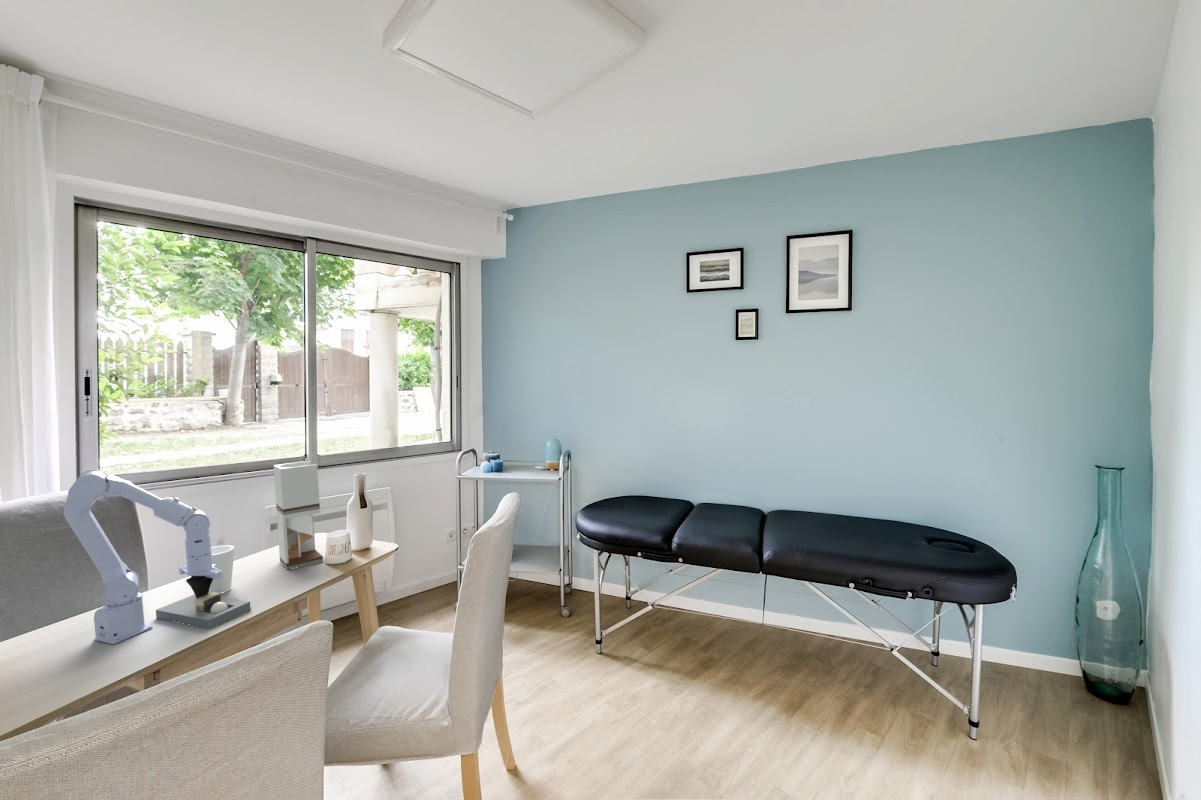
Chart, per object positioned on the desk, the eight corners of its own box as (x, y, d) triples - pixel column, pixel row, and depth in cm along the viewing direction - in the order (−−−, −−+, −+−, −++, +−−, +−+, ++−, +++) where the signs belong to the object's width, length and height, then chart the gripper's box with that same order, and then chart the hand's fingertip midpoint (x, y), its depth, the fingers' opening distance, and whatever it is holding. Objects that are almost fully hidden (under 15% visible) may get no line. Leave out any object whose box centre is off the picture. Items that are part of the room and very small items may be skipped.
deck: (208, 629, 149) (208, 620, 149) (156, 618, 157) (155, 609, 156) (250, 610, 161) (250, 601, 160) (199, 600, 168) (199, 592, 168)
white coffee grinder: (287, 570, 191) (280, 469, 188) (280, 562, 199) (273, 465, 196) (323, 561, 199) (317, 464, 196) (314, 554, 207) (309, 460, 204)
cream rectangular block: (204, 611, 155) (203, 600, 154) (195, 609, 156) (195, 599, 156) (222, 603, 159) (221, 593, 159) (213, 602, 161) (212, 591, 160)
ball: (206, 604, 155) (207, 618, 155) (216, 606, 154) (217, 620, 154) (220, 598, 159) (221, 611, 159) (230, 600, 157) (231, 614, 158)
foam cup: (244, 585, 179) (241, 545, 178) (221, 597, 170) (218, 555, 169) (216, 584, 180) (213, 545, 179) (193, 596, 171) (189, 555, 170)
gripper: (230, 551, 159) (234, 598, 160) (195, 546, 164) (199, 591, 165) (206, 560, 152) (209, 608, 153) (169, 554, 157) (173, 601, 158)
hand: (202, 600), depth 158 cm, fingers closed
